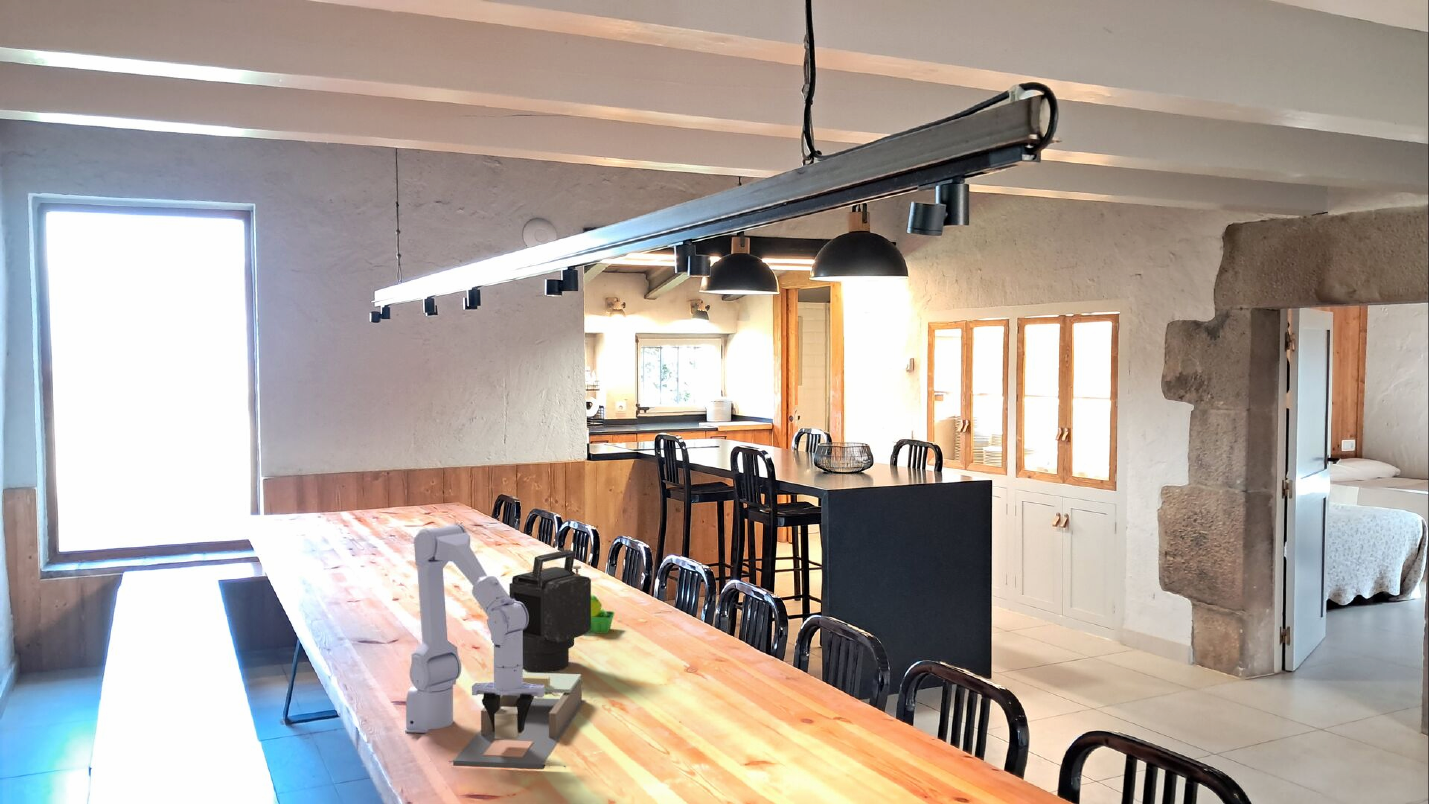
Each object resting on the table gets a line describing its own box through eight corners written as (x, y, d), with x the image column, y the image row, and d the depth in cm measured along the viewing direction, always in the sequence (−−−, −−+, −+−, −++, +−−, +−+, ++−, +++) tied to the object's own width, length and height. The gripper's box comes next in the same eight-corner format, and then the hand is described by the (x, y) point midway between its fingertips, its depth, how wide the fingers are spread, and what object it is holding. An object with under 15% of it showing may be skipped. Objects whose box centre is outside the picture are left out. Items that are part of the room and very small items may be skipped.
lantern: (545, 654, 275) (544, 544, 274) (594, 665, 264) (594, 551, 263) (503, 667, 262) (503, 552, 261) (553, 680, 252) (553, 560, 251)
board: (453, 765, 198) (453, 734, 198) (510, 701, 236) (509, 675, 236) (543, 769, 196) (543, 738, 196) (585, 704, 234) (585, 678, 234)
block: (494, 738, 202) (494, 714, 202) (501, 730, 207) (501, 706, 207) (516, 739, 202) (516, 714, 202) (523, 731, 206) (522, 707, 206)
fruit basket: (615, 627, 303) (615, 590, 302) (609, 635, 294) (609, 597, 294) (577, 626, 304) (577, 589, 303) (570, 634, 295) (570, 596, 295)
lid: (498, 690, 224) (498, 678, 224) (513, 675, 235) (513, 663, 235) (569, 693, 222) (569, 680, 222) (580, 677, 233) (580, 665, 233)
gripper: (466, 668, 200) (466, 736, 201) (538, 670, 199) (538, 739, 199) (478, 658, 207) (478, 724, 208) (547, 660, 206) (547, 726, 206)
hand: (508, 730), depth 204 cm, fingers closed on block, 4 cm apart
